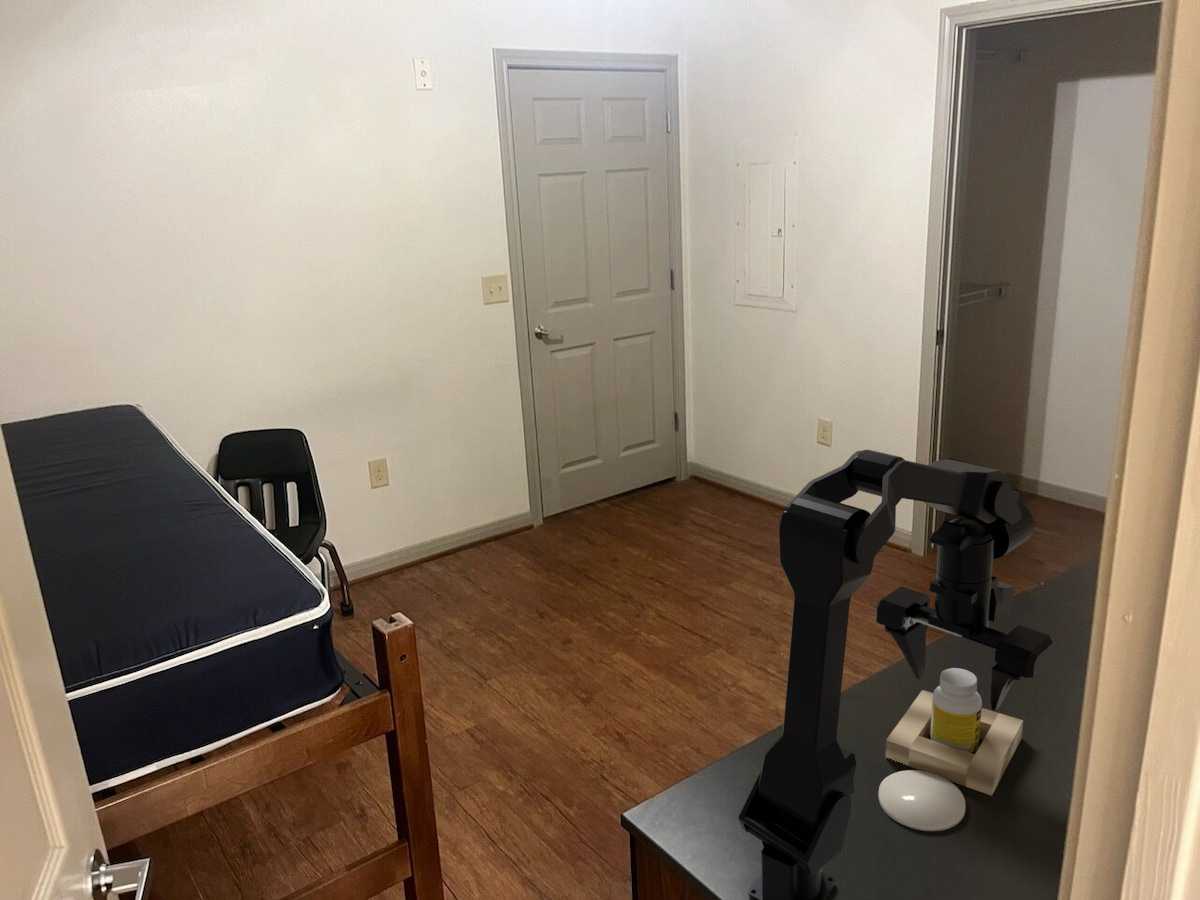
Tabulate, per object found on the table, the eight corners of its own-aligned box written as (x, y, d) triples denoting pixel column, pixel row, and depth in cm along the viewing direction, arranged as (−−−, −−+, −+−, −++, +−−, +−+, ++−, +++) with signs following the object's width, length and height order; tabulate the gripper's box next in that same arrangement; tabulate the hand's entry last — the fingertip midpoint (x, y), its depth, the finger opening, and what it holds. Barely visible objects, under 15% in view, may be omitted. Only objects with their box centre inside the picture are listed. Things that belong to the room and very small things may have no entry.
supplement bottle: (982, 764, 104) (988, 691, 101) (933, 761, 105) (936, 689, 102) (974, 735, 109) (978, 665, 106) (926, 732, 110) (930, 663, 107)
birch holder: (991, 795, 99) (993, 777, 98) (885, 757, 106) (886, 740, 106) (1021, 738, 108) (1023, 720, 107) (921, 706, 115) (922, 689, 114)
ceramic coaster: (949, 843, 93) (949, 838, 93) (865, 810, 98) (865, 805, 98) (976, 793, 100) (976, 788, 99) (896, 764, 105) (896, 760, 105)
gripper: (1082, 571, 98) (1069, 694, 103) (924, 527, 111) (919, 638, 116) (1037, 609, 91) (1025, 739, 96) (873, 558, 104) (871, 674, 109)
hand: (956, 693), depth 105 cm, fingers open, 9 cm apart
